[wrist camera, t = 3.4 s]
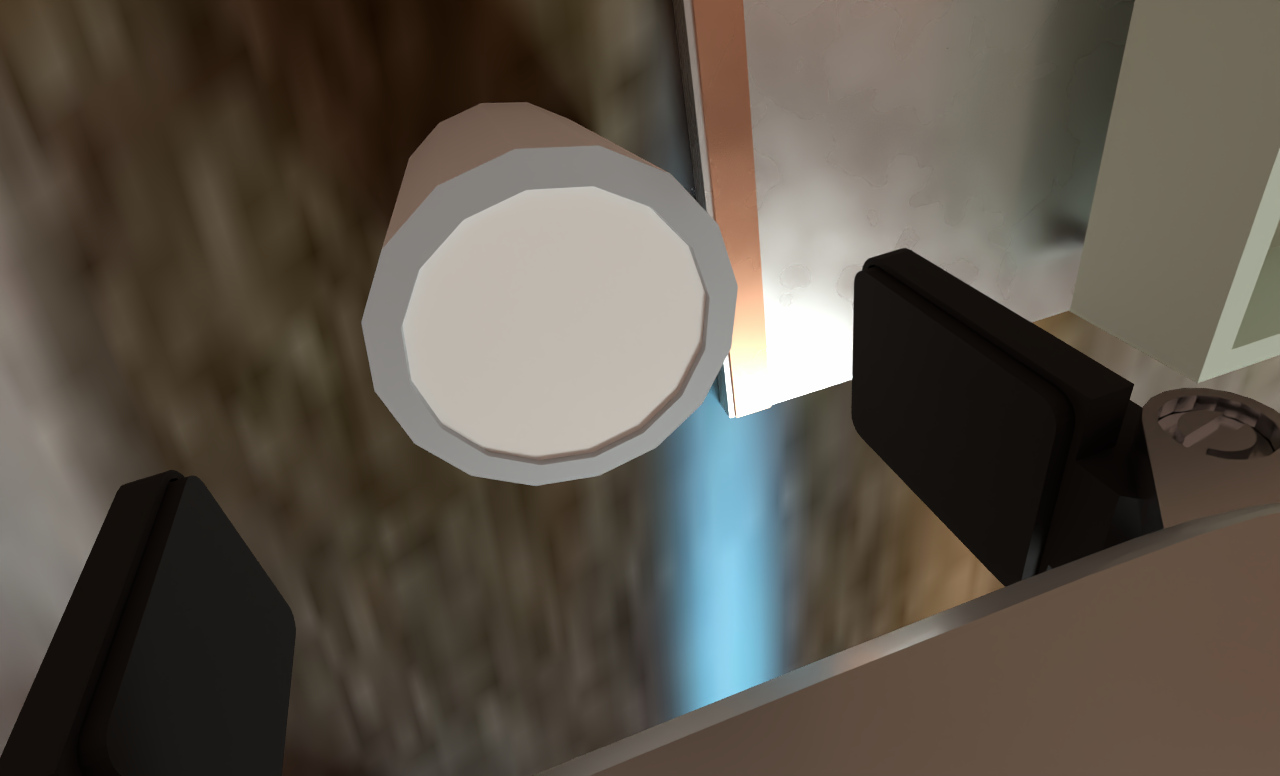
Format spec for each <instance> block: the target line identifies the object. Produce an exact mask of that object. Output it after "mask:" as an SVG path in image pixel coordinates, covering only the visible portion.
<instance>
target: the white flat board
mask: <svg viewBox="0 0 1280 776" xmlns="http://www.w3.org/2000/svg"><path fill="white" fill-rule="evenodd" d="M1134 2H1135V0H673V8H674V16H675V24H676V33H677V41H678V50H679V58H680V67H681V75H682V84H683V92H684V100H685V109H686V117H687V126H688V134H689V143H690V151H691V160H692V168H693V176H694V185H695V193H696V201H697V202H698V203H699V205H700V206H701V207H702V208H703V209H704V210H705V211H706V212H707V213H708V214H709V215H710V216H711V217H712V218H713V219H714V221H715V222H716V223H717V224H718V225H719V228H720V231H721V234H722V238H723V241H724V244H725V247H726V250H727V253H728V256H729V260H730V263H731V266H732V269H733V272H734V275H735V279H736V282H737V285H738V290H737V299H736V308H735V317H734V326H733V336H732V345H731V349H730V351H729V353H728V355H727V357H726V359H725V361H724V363H723V365H722V367H721V369H720V371H719V372H718V374H717V379H718V387H719V396H720V404H721V406H722V408H723V409H724V410H725V412H726V413H727V415H728V416H729V418H731V417H734V416H736V418H738V417H741V416H744V415H747V414H750V413H753V412H757V411H760V410H763V409H766V408H769V407H771V405H772V404H775V403H778V402H782V401H785V400H788V399H791V398H794V397H797V396H801V395H804V394H807V393H810V392H813V391H816V390H819V389H823V388H826V387H829V386H832V385H835V384H838V383H842V382H845V381H848V380H851V379H852V359H853V304H854V278H855V276H856V274H857V273H858V272H859V271H862V268H863V265H864V263H865V261H866V260H867V259H868V258H871V257H875V256H878V255H881V254H885V253H888V252H891V251H894V250H898V249H902V248H907V249H910V250H912V251H913V252H915V253H917V254H918V255H920V256H922V257H923V258H925V259H927V260H928V261H930V262H932V263H933V264H935V265H937V266H938V267H940V268H942V269H943V270H945V271H947V272H948V273H950V274H952V275H953V276H955V277H957V278H958V279H960V280H962V281H963V282H965V283H967V284H968V285H970V286H972V287H973V288H975V289H977V290H978V291H980V292H982V293H983V294H985V295H987V296H988V297H990V298H992V299H993V300H995V301H997V302H998V303H1000V304H1002V305H1003V306H1005V307H1006V308H1008V309H1010V310H1011V311H1013V312H1015V313H1016V314H1018V315H1020V316H1021V317H1023V318H1025V319H1026V320H1028V321H1030V322H1034V321H1037V320H1040V319H1044V318H1047V317H1050V316H1053V315H1056V314H1059V313H1062V312H1066V311H1069V310H1070V307H1071V303H1072V298H1073V293H1074V288H1075V284H1076V279H1077V274H1078V269H1079V265H1080V260H1081V255H1082V250H1083V246H1084V241H1085V236H1086V231H1087V226H1088V222H1089V217H1090V212H1091V207H1092V203H1093V198H1094V193H1095V188H1096V184H1097V179H1098V174H1099V169H1100V164H1101V160H1102V155H1103V150H1104V145H1105V141H1106V136H1107V131H1108V126H1109V122H1110V117H1111V112H1112V107H1113V102H1114V98H1115V93H1116V88H1117V83H1118V79H1119V74H1120V69H1121V64H1122V60H1123V55H1124V50H1125V45H1126V40H1127V36H1128V31H1129V26H1130V21H1131V17H1132V12H1133V7H1134Z"/></svg>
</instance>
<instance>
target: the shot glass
mask: <svg viewBox="0 0 1280 776" xmlns="http://www.w3.org/2000/svg"><path fill="white" fill-rule="evenodd" d="M737 290H738V285H737V282H736V279H735V275H734V272H733V269H732V266H731V263H730V260H729V256H728V253H727V250H726V247H725V244H724V241H723V238H722V234H721V231H720V228H719V225H718V224H717V223H716V222H715V221H714V219H713V218H712V217H711V216H710V215H709V214H708V213H707V212H706V211H705V210H704V209H703V208H702V207H701V206H700V205H699V203H698V202H697V201H696V200H695V199H694V198H693V197H692V196H691V195H690V194H689V193H688V192H687V191H686V190H685V189H684V187H683V186H682V185H681V184H680V183H679V182H678V181H677V180H676V179H675V178H674V177H673V176H672V175H671V174H670V173H668V172H666V171H664V170H663V169H661V168H659V167H657V166H655V165H653V164H651V163H650V162H648V161H646V160H644V159H642V158H640V157H638V156H637V155H635V154H633V153H631V152H629V151H627V150H625V149H624V148H622V147H620V146H618V145H616V144H614V143H612V142H611V141H609V140H607V139H605V138H603V137H601V136H599V135H598V134H596V133H594V132H592V131H590V130H588V129H586V128H585V127H583V126H581V125H579V124H577V123H575V122H573V121H572V120H570V119H568V118H565V117H563V116H560V115H558V114H555V113H553V112H550V111H548V110H545V109H543V108H540V107H538V106H536V105H533V104H531V103H528V102H511V103H480V104H478V105H476V106H474V107H472V108H470V109H468V110H465V111H463V112H461V113H459V114H457V115H455V116H453V117H451V118H448V119H446V120H444V121H442V122H440V123H438V125H437V126H436V127H435V128H434V129H433V131H432V132H431V133H430V134H429V135H428V136H427V138H426V139H425V140H424V141H423V142H422V143H421V145H420V146H419V147H418V148H417V149H416V151H415V152H414V153H413V154H412V155H411V156H410V158H409V160H408V164H407V167H406V170H405V174H404V177H403V180H402V184H401V187H400V190H399V194H398V197H397V200H396V204H395V207H394V210H393V214H392V217H391V220H390V224H389V227H388V230H387V234H386V237H385V240H384V244H383V247H382V251H381V254H380V258H379V261H378V265H377V268H376V272H375V276H374V279H373V283H372V286H371V290H370V293H369V297H368V301H367V304H366V308H365V311H364V315H363V318H362V322H361V323H362V328H363V333H364V339H365V344H366V349H367V354H368V359H369V364H370V369H371V374H372V379H373V385H374V390H375V392H376V393H377V395H378V396H379V397H380V399H381V400H382V401H383V402H384V404H385V405H386V406H387V408H388V409H389V410H390V412H391V413H392V414H393V416H394V417H395V418H396V420H397V421H398V422H399V424H400V425H401V426H402V428H403V429H404V430H405V432H406V433H407V434H408V435H409V437H410V438H411V439H412V441H413V442H414V443H415V444H416V445H418V446H420V447H422V448H423V449H425V450H427V451H429V452H430V453H432V454H434V455H436V456H437V457H439V458H441V459H443V460H445V461H446V462H448V463H450V464H452V465H453V466H455V467H457V468H459V469H461V470H462V471H464V472H466V473H468V474H469V475H471V476H477V477H483V478H489V479H496V480H502V481H508V482H515V483H521V484H527V485H533V486H537V485H544V484H550V483H556V482H562V481H569V480H575V479H581V478H587V477H594V476H599V475H601V474H603V473H605V472H607V471H609V470H612V469H614V468H616V467H618V466H620V465H622V464H624V463H626V462H628V461H630V460H632V459H634V458H636V457H638V456H640V455H642V454H644V453H646V452H648V451H650V450H652V449H654V448H656V447H657V446H658V445H659V444H661V443H662V442H663V441H664V440H665V439H666V438H667V437H668V436H669V435H670V434H671V433H672V432H673V431H674V430H675V429H676V428H677V427H678V426H679V425H680V424H681V423H683V422H684V421H685V420H686V419H687V418H688V417H689V416H690V415H691V414H692V413H693V412H694V411H695V410H696V409H697V408H698V407H699V406H700V405H701V404H702V403H703V401H704V399H705V397H706V396H707V394H708V392H709V390H710V388H711V386H712V384H713V382H714V380H715V378H716V376H717V374H718V372H719V371H720V369H721V367H722V365H723V363H724V361H725V359H726V357H727V355H728V353H729V351H730V349H731V345H732V336H733V326H734V317H735V308H736V299H737Z"/></svg>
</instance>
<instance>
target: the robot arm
mask: <svg viewBox="0 0 1280 776" xmlns="http://www.w3.org/2000/svg"><path fill="white" fill-rule="evenodd" d="M1133 386H1134V384H1133V383H1131V382H1130V381H1128V380H1126V379H1125V378H1123V377H1121V376H1120V375H1118V374H1116V373H1115V372H1113V371H1111V370H1110V369H1108V368H1106V367H1105V366H1103V365H1101V364H1100V363H1098V362H1096V361H1095V360H1093V359H1091V358H1090V357H1088V356H1086V355H1085V354H1083V353H1081V352H1080V351H1078V350H1076V349H1075V348H1073V347H1071V346H1070V345H1068V344H1066V343H1065V342H1063V341H1061V340H1060V339H1058V338H1056V337H1055V336H1053V335H1051V334H1050V333H1048V332H1046V331H1045V330H1043V329H1041V328H1040V327H1038V326H1036V325H1035V324H1033V323H1031V322H1030V321H1028V320H1026V319H1025V318H1023V317H1021V316H1020V315H1018V314H1016V313H1015V312H1013V311H1011V310H1010V309H1008V308H1006V307H1005V306H1003V305H1002V304H1000V303H998V302H997V301H995V300H993V299H992V298H990V297H988V296H987V295H985V294H983V293H982V292H980V291H978V290H977V289H975V288H973V287H972V286H970V285H968V284H967V283H965V282H963V281H962V280H960V279H958V278H957V277H955V276H953V275H952V274H950V273H948V272H947V271H945V270H943V269H942V268H940V267H938V266H937V265H935V264H933V263H932V262H930V261H928V260H927V259H925V258H923V257H922V256H920V255H918V254H917V253H915V252H913V251H912V250H910V249H907V248H902V249H898V250H894V251H891V252H888V253H885V254H881V255H878V256H875V257H871V258H868V259H867V260H866V261H865V263H864V265H863V268H862V271H859V272H858V273H857V274H856V276H855V278H854V304H853V359H852V420H853V424H854V426H855V429H856V430H857V432H858V434H859V435H860V436H861V438H862V439H863V440H864V441H865V442H866V443H867V444H868V445H869V446H870V447H871V448H872V449H873V450H874V451H875V452H876V453H877V454H878V455H879V456H880V457H881V458H882V460H883V461H884V462H885V463H886V464H887V465H888V466H889V467H890V468H891V469H892V470H893V471H894V472H895V473H896V474H897V475H898V476H899V477H900V478H901V479H902V480H903V481H904V482H905V483H906V484H907V486H908V487H909V488H910V489H911V490H912V491H913V492H914V493H915V494H916V495H917V496H918V497H919V498H920V499H921V500H922V501H923V502H924V503H925V504H926V505H927V506H928V507H929V508H930V509H931V511H932V512H933V513H934V514H935V515H936V516H937V517H938V518H939V519H940V520H941V521H942V522H943V523H944V524H945V525H946V526H947V527H948V528H949V529H950V530H951V531H952V532H953V533H954V534H955V536H956V537H957V538H958V539H959V540H960V541H961V542H962V543H963V544H964V545H965V546H966V547H967V548H968V549H969V550H970V551H971V552H972V553H973V554H974V555H975V556H976V557H977V558H978V559H979V560H980V562H981V563H982V564H983V565H984V566H985V567H986V568H987V569H988V570H989V571H990V572H991V573H992V574H993V575H994V576H995V577H996V578H997V579H998V580H999V581H1000V582H1001V583H1002V584H1003V585H1004V586H1006V587H1004V588H1001V589H999V590H996V591H994V592H991V593H989V594H986V595H984V596H981V597H979V598H976V599H974V600H971V601H969V602H966V603H963V604H961V605H958V606H956V607H953V608H951V609H948V610H946V611H943V612H941V613H938V614H936V615H933V616H931V617H928V618H925V619H923V620H920V621H918V622H915V623H913V624H910V625H908V626H905V627H903V628H900V629H898V630H895V631H893V632H890V633H887V634H885V635H882V636H880V637H877V638H875V639H872V640H870V641H867V642H865V643H862V644H860V645H857V646H855V647H852V648H849V649H847V650H844V651H842V652H839V653H837V654H834V655H832V656H829V657H827V658H824V659H822V660H819V661H817V662H814V663H812V664H809V665H807V666H804V667H802V668H799V669H797V670H794V671H792V672H789V673H787V674H784V675H782V676H779V677H777V678H774V679H772V680H769V681H767V682H764V683H762V684H759V685H757V686H754V687H752V688H749V689H747V690H744V691H742V692H739V693H737V694H734V695H732V696H729V697H727V698H724V699H722V700H719V701H717V702H714V703H712V704H709V705H707V706H704V707H702V708H699V709H697V710H694V711H692V712H689V713H687V714H684V715H682V716H679V717H677V718H675V719H672V720H670V721H667V722H665V723H662V724H660V725H657V726H655V727H652V728H650V729H647V730H645V731H642V732H640V733H637V734H635V735H632V736H630V737H627V738H625V739H622V740H620V741H617V742H615V743H612V744H610V745H607V746H605V747H602V748H600V749H597V750H595V751H592V752H590V753H587V754H585V755H582V756H580V757H578V758H575V759H573V760H570V761H568V762H565V763H563V764H560V765H558V766H555V767H553V768H550V769H548V770H546V771H543V772H541V773H538V774H536V775H533V776H1280V413H1278V412H1277V411H1275V410H1274V409H1272V408H1270V407H1268V406H1266V405H1264V404H1262V403H1260V402H1258V401H1256V400H1254V399H1251V398H1248V397H1244V396H1241V395H1238V394H1234V393H1231V392H1227V391H1220V390H1214V389H1208V388H1181V389H1175V390H1169V391H1164V392H1162V393H1160V394H1158V395H1156V396H1154V397H1151V398H1150V399H1149V400H1148V402H1147V403H1146V404H1145V405H1144V406H1143V408H1142V407H1140V406H1139V405H1137V404H1136V403H1134V402H1132V401H1131V400H1130V396H1131V393H1132V390H1133ZM295 636H296V627H295V621H294V617H293V614H292V611H291V609H290V607H289V605H288V604H287V603H286V601H285V600H284V598H283V597H282V595H281V594H280V592H279V591H278V590H277V588H276V587H275V585H274V584H273V582H272V581H271V579H270V578H269V577H268V575H267V574H266V572H265V571H264V569H263V568H262V567H261V565H260V564H259V562H258V561H257V559H256V558H255V556H254V555H253V554H252V552H251V551H250V549H249V548H248V546H247V545H246V543H245V542H244V541H243V539H242V538H241V536H240V535H239V533H238V532H237V531H236V529H235V528H234V526H233V525H232V523H231V522H230V520H229V519H228V518H227V516H226V515H225V513H224V512H223V510H222V509H221V507H220V506H219V505H218V503H217V502H216V500H215V499H214V497H213V496H212V495H211V493H210V492H209V490H208V489H207V487H206V486H205V484H204V483H203V482H202V481H201V480H200V479H199V478H198V477H196V476H189V477H186V478H185V477H184V476H183V475H182V474H180V473H179V472H177V471H174V470H170V471H166V472H163V473H160V474H156V475H153V476H150V477H147V478H143V479H140V480H137V481H133V482H130V483H127V484H125V485H122V486H121V487H120V488H119V490H118V491H117V493H116V495H115V498H114V500H113V502H112V505H111V507H110V509H109V511H108V514H107V516H106V518H105V520H104V523H103V525H102V527H101V530H100V532H99V534H98V536H97V539H96V541H95V543H94V546H93V548H92V550H91V552H90V555H89V557H88V559H87V561H86V564H85V566H84V568H83V571H82V573H81V575H80V577H79V580H78V582H77V584H76V587H75V589H74V591H73V593H72V596H71V598H70V600H69V602H68V605H67V607H66V609H65V612H64V614H63V616H62V618H61V621H60V623H59V625H58V628H57V630H56V632H55V634H54V637H53V639H52V641H51V643H50V646H49V648H48V650H47V653H46V655H45V657H44V659H43V662H42V664H41V666H40V668H39V671H38V673H37V675H36V678H35V680H34V682H33V684H32V687H31V689H30V691H29V694H28V696H27V698H26V700H25V703H24V705H23V707H22V709H21V712H20V714H19V716H18V719H17V721H16V723H15V725H14V728H13V730H12V732H11V735H10V737H9V739H8V741H7V744H6V746H5V748H4V750H3V753H2V755H1V757H0V776H282V766H283V756H284V746H285V736H286V726H287V716H288V706H289V696H290V686H291V676H292V666H293V656H294V646H295Z"/></svg>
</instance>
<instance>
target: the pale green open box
mask: <svg viewBox="0 0 1280 776" xmlns="http://www.w3.org/2000/svg"><path fill="white" fill-rule="evenodd" d="M1070 312H1072V313H1074V314H1075V315H1077V316H1079V317H1081V318H1083V319H1084V320H1086V321H1088V322H1090V323H1091V324H1093V325H1095V326H1097V327H1099V328H1100V329H1102V330H1104V331H1106V332H1107V333H1109V334H1111V335H1113V336H1115V337H1116V338H1118V339H1120V340H1122V341H1123V342H1125V343H1127V344H1129V345H1131V346H1132V347H1134V348H1136V349H1138V350H1140V351H1141V352H1143V353H1145V354H1147V355H1148V356H1150V357H1152V358H1154V359H1156V360H1157V361H1159V362H1161V363H1163V364H1164V365H1166V366H1168V367H1170V368H1172V369H1173V370H1175V371H1177V372H1179V373H1180V374H1182V375H1184V376H1186V377H1188V378H1189V379H1191V380H1193V381H1195V382H1196V383H1199V382H1202V381H1205V380H1208V379H1211V378H1214V377H1217V376H1220V375H1223V374H1225V373H1228V372H1231V371H1234V370H1237V369H1240V368H1243V367H1246V366H1249V365H1252V364H1254V363H1257V362H1260V361H1263V360H1266V359H1269V358H1272V357H1275V356H1278V355H1280V0H1135V2H1134V7H1133V12H1132V17H1131V21H1130V26H1129V31H1128V36H1127V40H1126V45H1125V50H1124V55H1123V60H1122V64H1121V69H1120V74H1119V79H1118V83H1117V88H1116V93H1115V98H1114V102H1113V107H1112V112H1111V117H1110V122H1109V126H1108V131H1107V136H1106V141H1105V145H1104V150H1103V155H1102V160H1101V164H1100V169H1099V174H1098V179H1097V184H1096V188H1095V193H1094V198H1093V203H1092V207H1091V212H1090V217H1089V222H1088V226H1087V231H1086V236H1085V241H1084V246H1083V250H1082V255H1081V260H1080V265H1079V269H1078V274H1077V279H1076V284H1075V288H1074V293H1073V298H1072V303H1071V307H1070Z"/></svg>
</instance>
